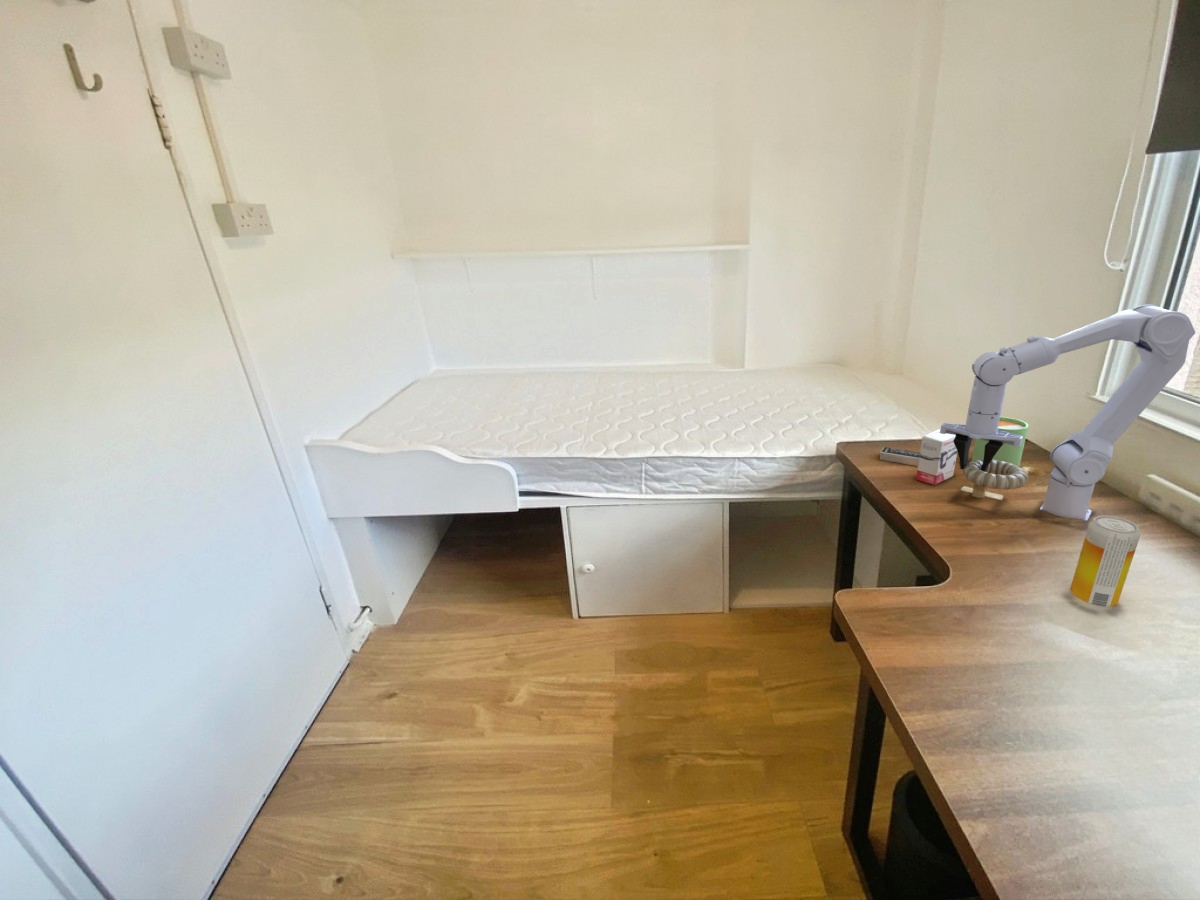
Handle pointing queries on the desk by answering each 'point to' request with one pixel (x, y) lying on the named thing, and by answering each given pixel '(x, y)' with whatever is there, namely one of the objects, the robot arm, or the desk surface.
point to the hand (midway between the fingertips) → (973, 469)
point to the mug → (1006, 451)
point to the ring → (1006, 477)
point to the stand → (981, 492)
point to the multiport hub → (900, 456)
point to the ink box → (936, 457)
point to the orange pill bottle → (1105, 560)
